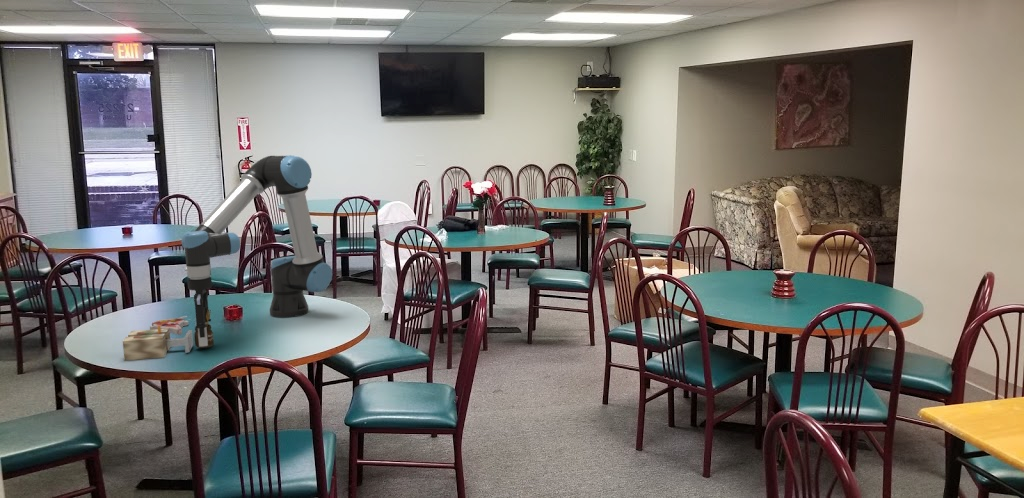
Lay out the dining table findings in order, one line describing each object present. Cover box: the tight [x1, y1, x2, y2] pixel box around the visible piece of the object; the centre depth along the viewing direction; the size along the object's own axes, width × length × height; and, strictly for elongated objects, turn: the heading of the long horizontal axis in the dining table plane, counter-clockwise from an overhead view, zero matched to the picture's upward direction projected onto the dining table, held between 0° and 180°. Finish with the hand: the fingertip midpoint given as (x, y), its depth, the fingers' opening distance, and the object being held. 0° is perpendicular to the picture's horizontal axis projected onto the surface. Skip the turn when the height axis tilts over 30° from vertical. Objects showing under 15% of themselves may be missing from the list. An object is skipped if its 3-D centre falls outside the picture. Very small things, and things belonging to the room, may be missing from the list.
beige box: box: [122, 328, 171, 361], centre depth 260 cm, size 12×13×7 cm
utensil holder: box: [193, 309, 214, 349], centre depth 264 cm, size 6×6×12 cm
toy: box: [149, 315, 189, 336], centre depth 291 cm, size 15×4×20 cm
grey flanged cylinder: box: [158, 325, 194, 354], centre depth 261 cm, size 14×9×9 cm, turn 104°
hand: (204, 343), depth 265 cm, fingers closed on utensil holder, 6 cm apart
